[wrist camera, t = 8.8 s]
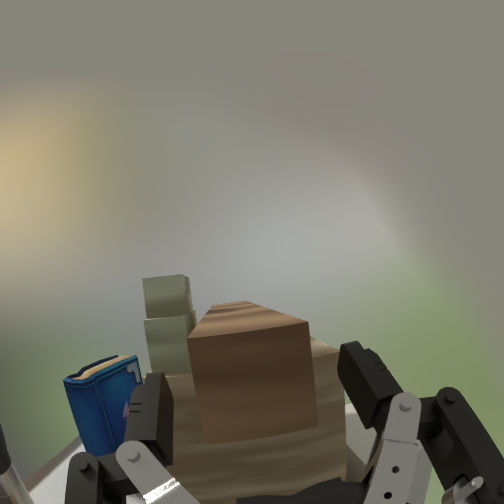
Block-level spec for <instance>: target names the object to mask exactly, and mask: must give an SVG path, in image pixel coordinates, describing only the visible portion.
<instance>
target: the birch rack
mask: <svg viewBox="0 0 504 504" xmlns="http://www.w3.org/2000/svg"><path fill="white" fill-rule="evenodd" d="M142 281H143V290H144V299H145V307H146V315H147V319H145V320H144V327H145V334H146V340H147V346H148V352H149V358H150V364H151V370H150V371H149V372H148V373H157V372H163V373H164V374H165V377H166V379H167V382H168V385H169V387H170V390H171V392H172V395H173V400H174V421H173V465H171V466H166V469H167V471H168V472H169V473H170V474H171V476H172V477H173V478H174V479H175V480H177V481H178V482H179V483H180V484H181V485H182V486H183V487H184V488H185V489H186V490H187V491H188V492H189V493H190V494H191V495H192V496H193V497H194V498H195V499H196V500H197V501H198V502H199V503H200V504H236V503H237V502H236V498H244V497H251V496H258V495H293V494H295V493H297V492H300V491H302V490H304V489H306V488H308V487H310V486H312V485H314V484H316V483H319V482H323V481H326V480H330V479H333V478H336V477H341V479H342V481H346V417H345V397H344V387H343V385H342V383H341V381H340V379H339V377H338V373H337V364H338V358H339V352H340V350H338V349H335V348H333V347H331V346H329V345H327V344H325V343H323V342H320V341H318V340H316V339H314V338H312V337H310V342H311V351H312V361H313V371H314V381H315V392H316V404H317V416H318V427H314V428H309V429H305V430H301V431H296V432H291V433H286V434H281V435H276V436H271V437H265V438H258V439H252V440H245V441H237V442H229V443H219V444H206V439H205V435H204V431H203V426H202V421H201V417H200V412H199V407H198V402H197V397H196V392H195V386H194V381H193V375H192V370H191V364H190V358H189V352H188V345H187V339H186V338H187V337H188V336H189V335H190V333H191V332H192V331H193V330H194V328H195V327H196V326H197V320H196V313H195V310H193V307H192V299H191V291H190V282H189V278H188V277H186V276H184V275H182V274H180V275H171V276H162V277H153V278H143V279H142ZM145 378H146V375H145V376H144V377H143V383H144V384H145Z"/></svg>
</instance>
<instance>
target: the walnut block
mask: <svg viewBox="0 0 504 504" xmlns="http://www.w3.org/2000/svg"><path fill="white" fill-rule="evenodd" d="M186 339H187V345H188V352H189V358H190V364H191V370H192V375H193V381H194V386H195V392H196V397H197V402H198V407H199V412H200V417H201V421H202V426H203V431H204V435H205V439H206V444H219V443H229V442H237V441H245V440H252V439H258V438H265V437H271V436H276V435H281V434H286V433H291V432H296V431H301V430H305V429H309V428H314V427H318V416H317V404H316V392H315V381H314V371H313V361H312V351H311V342H310V334H309V325H308V322H307V321H304V320H301V319H298V318H295V317H292V316H289V315H286V314H283V313H280V312H277V311H274V310H271V309H268V308H265V307H262V306H259V305H256V304H254V303H251V302H248V301H242V302H234V303H226V304H218V305H213V306H212V307H211V308H210V309H209V311H208V312H207V313H206V315H205V316H204V317H203V318H202V319H201V321H200V322H199V323H198V325H197V326H196V327H195V328H194V330H193V331H192V332H191V333H190V335H189V336H188V337H187V338H186Z"/></svg>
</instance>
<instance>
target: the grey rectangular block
mask: <svg viewBox="0 0 504 504" xmlns="http://www.w3.org/2000/svg"><path fill="white" fill-rule="evenodd" d="M345 417H346V481H355V482H359V481H360V478H361V476H362V474H363V472H364V470H365V467H366V465H367V462H368V459H369V456H370V453H371V449H372V446H373V443H374V440H375V436H376V431H375V429H374V427H372V428H370V429H367V430H366V429H365V427H364V426H363V424H362V422H361V420H360V418H359V416H358V414H357V412H356V410H355V408H354V406H353V404H352V403H351V404H348V405H345ZM416 444H418V445H419V450H418V456H417V461H416V466H415V470H414V474H413V479H412V483H411V487H410V491H409V494H408V498H407V501H406V502H407V503H410V504H424V501H425V497H426V493H427V489H428V484H429V480H430V475H431V470H432V463H431V462H430V460H429V458H428V456H427V454H426V452H425V450H424V448H423V446H422V444H421V442H420V440H416Z"/></svg>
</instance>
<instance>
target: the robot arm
mask: <svg viewBox="0 0 504 504" xmlns="http://www.w3.org/2000/svg"><path fill="white" fill-rule="evenodd" d="M337 373H338V377H339V379H340V381H341V383H342V385H343V387H344V389H345V391H346V393H347V395H348V396H349V398H350V400H351V402H352V404H353V406H354V408H355V410H356V412H357V414H358V416H359V418H360V420H361V422H362V424H363V426H364V427H365V429H366V430H367V429H370V428H372V427H374V429H375V431H376V436H375V440H374V443H373V446H372V449H371V453H370V456H369V459H368V462H367V465H366V467H365V470H364V472H363V474H362V476H361V478H360V481H359V482H355V481H342V479H341V477H336V478H333V479H330V480H326V481H323V482H319V483H316V484H314V485H312V486H310V487H308V488H306V489H304V490H302V491H300V492H297V493H295V494H293V495H258V496H251V497H244V498H236V502H237V503H236V504H410V503H407V502H406V501H407V498H408V494H409V491H410V487H411V483H412V479H413V474H414V470H415V466H416V461H417V456H418V450H419V445H418V444H416V440H420V442H421V444H422V446H423V448H424V450H425V452H426V454H427V456H428V458H429V460H430V462H431V463H432V465H433V467H434V469H435V471H436V473H437V475H438V478H439V480H440V482H441V484H442V486H443V488H444V490H445V493H444V495H443V497H442V504H504V458H503V456H502V455H501V453H500V452H499V450H498V448H497V447H496V445H495V443H494V442H493V440H492V439H491V437H490V435H489V434H488V432H487V431H486V429H485V428H484V426H483V425H482V423H481V422H480V420H479V419H478V417H477V416H476V414H475V413H474V411H473V410H472V408H471V407H470V406H469V404H468V403H467V401H466V400H465V399H464V397H463V396H462V394H461V393H460V392H459V391H458V390H457V389H455V388H452V387H445V388H443V389H441V390H439V392H438V393H437V395H436V396H434V397H426V398H418V397H417V396H416V395H413V394H412V393H407V392H403V390H402V389H401V387H400V386H399V385H398V383H397V382H396V380H395V379H394V377H393V376H392V375H391V373H390V372H389V370H387V367H386V366H385V364H384V363H383V362H382V360H381V359H380V357H379V356H378V354H376V353H374V352H373V351H372V350H370V349H369V348H368V349H365V350H364V349H363V348H362V346H361V344H360V343H359V342H358V341H353V342H349V343H345V344H342V345H341V347H340V352H339V358H338V364H337ZM128 411H129V413H128V417H127V423H126V430H125V437H124V442H123V444H121V445H120V446H119V448H118V449H117V451H115V452H113V453H111V454H107V455H103V456H98V457H95V456H94V455H93V454H91V453H88V452H80V453H77V454H75V455H74V456H73V457H72V458H71V460H70V462H69V468H68V476H67V484H66V493H65V504H126V496H127V495H131V494H136V493H141V494H142V495H143V497H144V498H145V501H146V502H147V504H200V503H199V502H198V501H197V500H196V499H195V498H194V497H193V496H192V495H191V494H190V493H189V492H188V491H187V490H186V489H185V488H184V487H183V486H182V485H181V484H180V483H179V482H178V481H177V480H175V479H174V478H173V477H172V476H171V474H170V473H169V472H168V471H167V470H166V466H171V465H173V421H174V400H173V395H172V392H171V390H170V387H169V385H168V382H167V379H166V377H165V374H164V373H163V372H157V373H147V374H146V378H145V384H144V385H137V386H136V387H135V389H134V390H133V392H132V393H131V399H130V405H129V410H128ZM0 504H34V502H33V500H32V499H31V497H30V495H29V494H28V492H27V490H26V488H25V486H24V484H23V483H22V481H21V479H20V477H19V475H18V473H17V471H16V469H15V467H14V465H13V462H12V460H11V458H10V456H9V454H8V451H7V447H6V443H5V438H4V434H3V431H2V428H1V425H0Z"/></svg>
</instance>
